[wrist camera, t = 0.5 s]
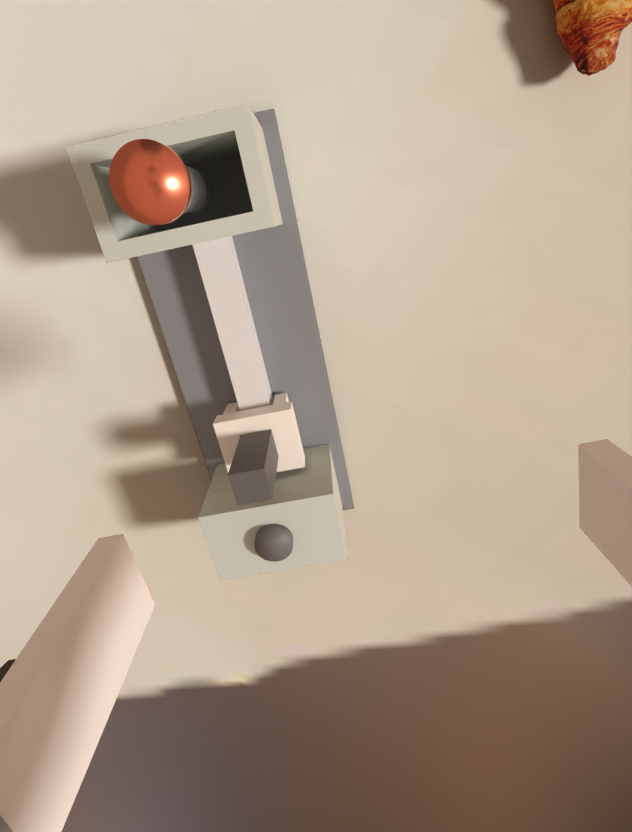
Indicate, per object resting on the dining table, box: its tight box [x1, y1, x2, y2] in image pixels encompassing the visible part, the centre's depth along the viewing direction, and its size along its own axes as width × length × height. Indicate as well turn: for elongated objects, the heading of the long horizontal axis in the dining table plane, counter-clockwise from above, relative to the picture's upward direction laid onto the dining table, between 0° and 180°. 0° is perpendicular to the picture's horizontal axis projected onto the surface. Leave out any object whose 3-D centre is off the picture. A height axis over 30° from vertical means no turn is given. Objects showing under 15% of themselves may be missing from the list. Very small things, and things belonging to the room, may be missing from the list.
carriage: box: [213, 393, 305, 506], centre depth 35 cm, size 5×6×10 cm
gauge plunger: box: [109, 139, 213, 225], centre depth 26 cm, size 4×4×9 cm
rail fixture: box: [65, 104, 354, 581], centre depth 34 cm, size 32×12×10 cm, turn 11°
